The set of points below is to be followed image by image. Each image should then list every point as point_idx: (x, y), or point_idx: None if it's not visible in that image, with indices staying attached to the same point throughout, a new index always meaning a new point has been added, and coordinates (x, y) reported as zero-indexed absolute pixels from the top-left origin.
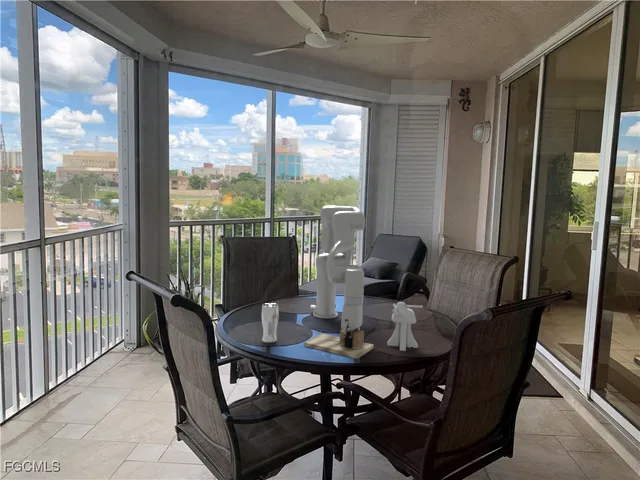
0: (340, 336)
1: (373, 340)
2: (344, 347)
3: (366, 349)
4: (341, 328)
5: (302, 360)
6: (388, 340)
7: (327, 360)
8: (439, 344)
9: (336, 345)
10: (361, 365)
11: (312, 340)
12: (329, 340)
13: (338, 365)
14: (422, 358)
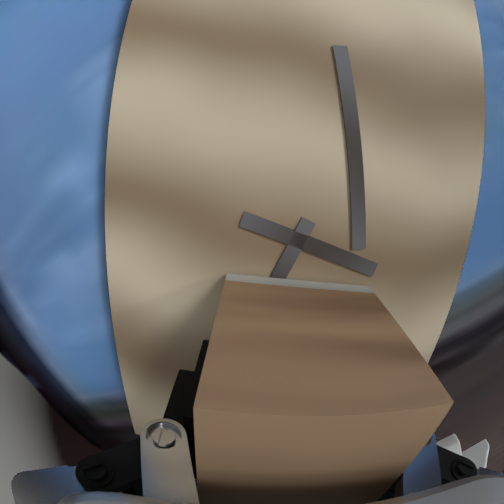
0: (211, 341)
1: (498, 368)
2: (211, 329)
3: None
4: (70, 494)
5: None
6: (459, 449)
7: (4, 265)
8: None
9: (221, 234)
10: (85, 431)
11: None
12: (341, 92)
13: (7, 342)
14: None
